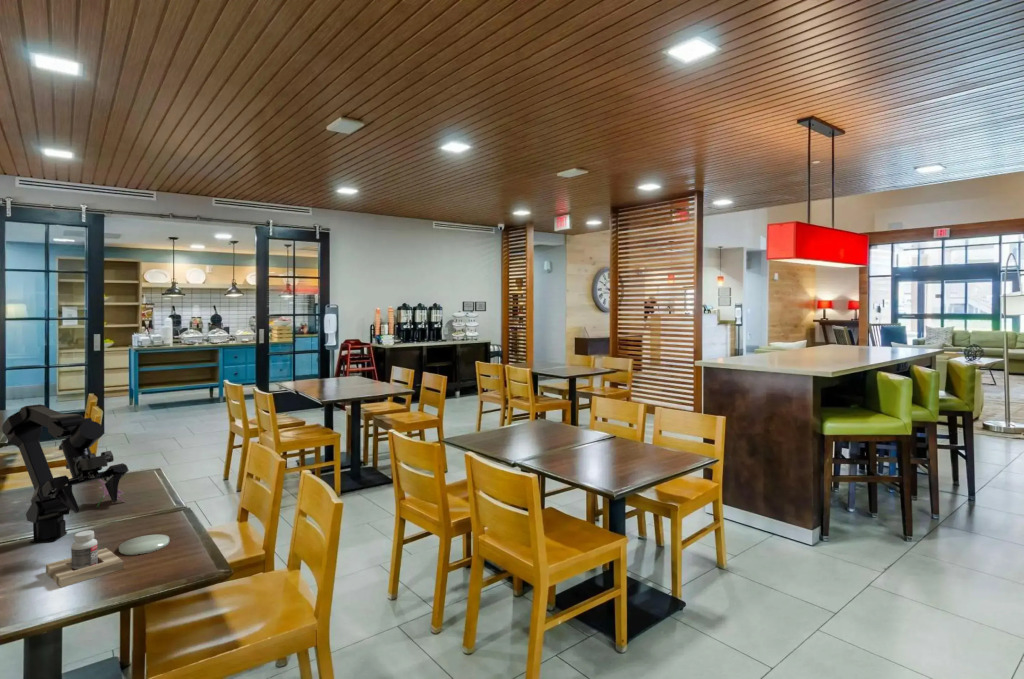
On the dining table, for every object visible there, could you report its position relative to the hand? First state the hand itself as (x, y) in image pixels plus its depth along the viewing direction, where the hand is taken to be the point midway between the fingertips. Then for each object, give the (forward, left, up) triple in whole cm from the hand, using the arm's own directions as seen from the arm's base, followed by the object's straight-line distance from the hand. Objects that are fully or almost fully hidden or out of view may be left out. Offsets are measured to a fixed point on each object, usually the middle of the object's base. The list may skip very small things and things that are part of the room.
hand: (97, 507), depth 151 cm
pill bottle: (+2, -10, -14) cm, 17 cm away
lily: (-18, +46, -14) cm, 51 cm away
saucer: (+10, +4, -13) cm, 17 cm away
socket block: (+2, -10, -13) cm, 17 cm away
